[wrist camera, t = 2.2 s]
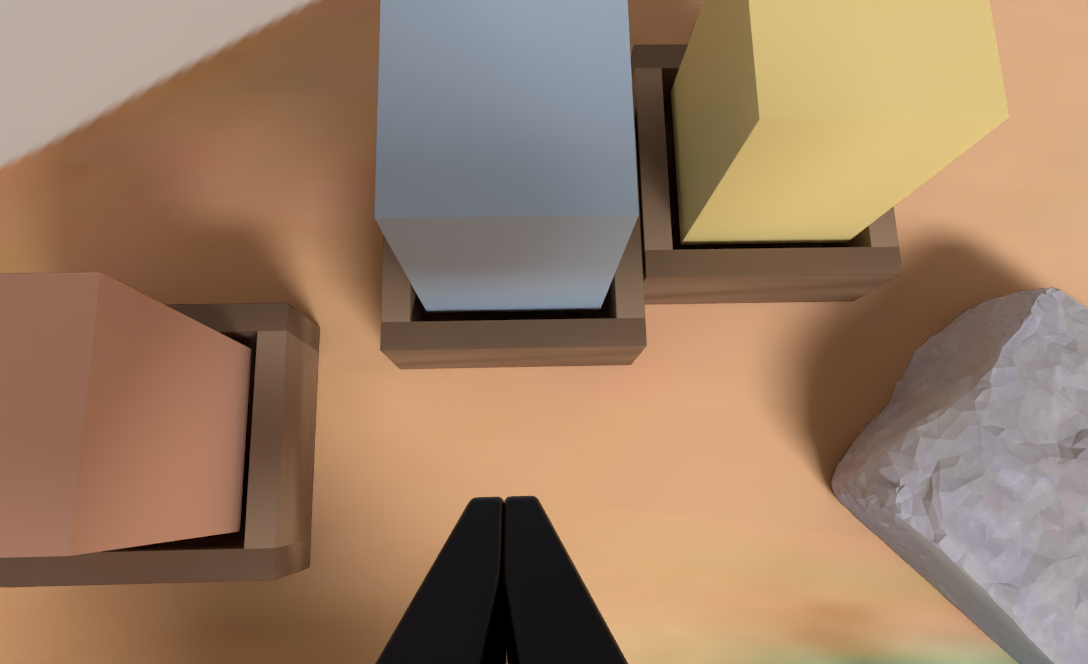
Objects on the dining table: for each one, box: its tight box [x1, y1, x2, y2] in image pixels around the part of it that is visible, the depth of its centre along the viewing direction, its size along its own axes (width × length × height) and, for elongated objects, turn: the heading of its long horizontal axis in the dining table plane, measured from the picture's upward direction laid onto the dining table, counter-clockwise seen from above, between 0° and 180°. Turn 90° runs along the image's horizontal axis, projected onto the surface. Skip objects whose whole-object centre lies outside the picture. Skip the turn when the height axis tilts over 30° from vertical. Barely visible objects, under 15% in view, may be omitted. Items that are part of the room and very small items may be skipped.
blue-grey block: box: [374, 0, 639, 313], centre depth 18 cm, size 5×5×8 cm
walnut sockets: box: [0, 45, 902, 587], centre depth 22 cm, size 15×25×3 cm, turn 91°
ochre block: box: [671, 0, 1009, 244], centre depth 19 cm, size 5×5×8 cm
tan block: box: [0, 272, 251, 558], centre depth 16 cm, size 5×5×8 cm
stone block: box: [831, 287, 1088, 664], centre depth 22 cm, size 12×5×10 cm
